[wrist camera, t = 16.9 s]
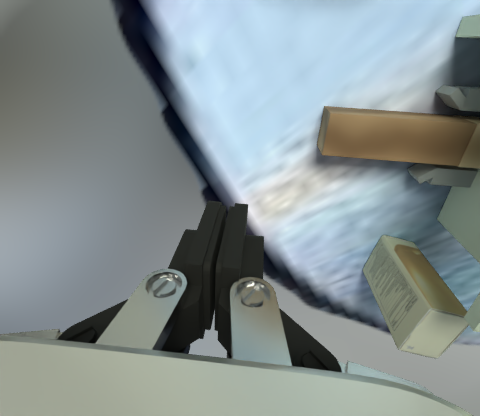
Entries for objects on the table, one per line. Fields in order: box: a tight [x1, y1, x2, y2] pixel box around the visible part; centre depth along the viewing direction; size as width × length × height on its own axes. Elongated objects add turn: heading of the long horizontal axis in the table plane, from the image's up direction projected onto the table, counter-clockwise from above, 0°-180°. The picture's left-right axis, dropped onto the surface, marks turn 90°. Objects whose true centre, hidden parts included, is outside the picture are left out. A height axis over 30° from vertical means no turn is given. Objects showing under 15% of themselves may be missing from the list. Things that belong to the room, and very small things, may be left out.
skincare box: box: [363, 235, 469, 359], centre depth 32 cm, size 6×4×12 cm
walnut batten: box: [317, 106, 480, 169], centre depth 28 cm, size 4×15×4 cm, turn 87°
